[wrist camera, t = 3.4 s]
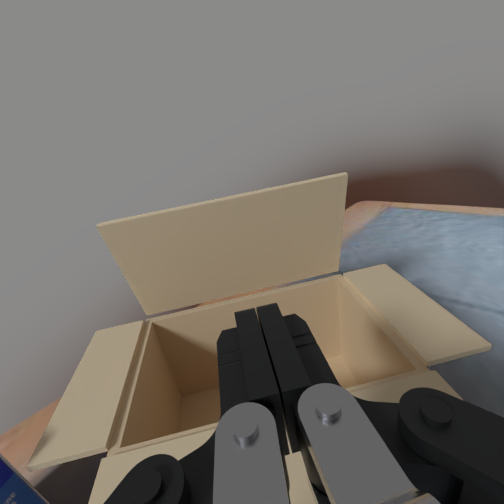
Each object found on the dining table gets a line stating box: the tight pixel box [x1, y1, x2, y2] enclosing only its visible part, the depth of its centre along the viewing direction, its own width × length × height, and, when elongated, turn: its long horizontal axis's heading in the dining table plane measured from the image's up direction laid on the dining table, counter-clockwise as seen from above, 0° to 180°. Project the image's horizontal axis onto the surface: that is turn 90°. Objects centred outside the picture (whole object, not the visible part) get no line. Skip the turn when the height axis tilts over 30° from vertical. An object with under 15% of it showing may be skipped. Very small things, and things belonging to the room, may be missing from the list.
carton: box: [26, 264, 492, 504], centre depth 19 cm, size 26×21×10 cm
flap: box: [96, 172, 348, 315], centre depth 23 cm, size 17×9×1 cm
